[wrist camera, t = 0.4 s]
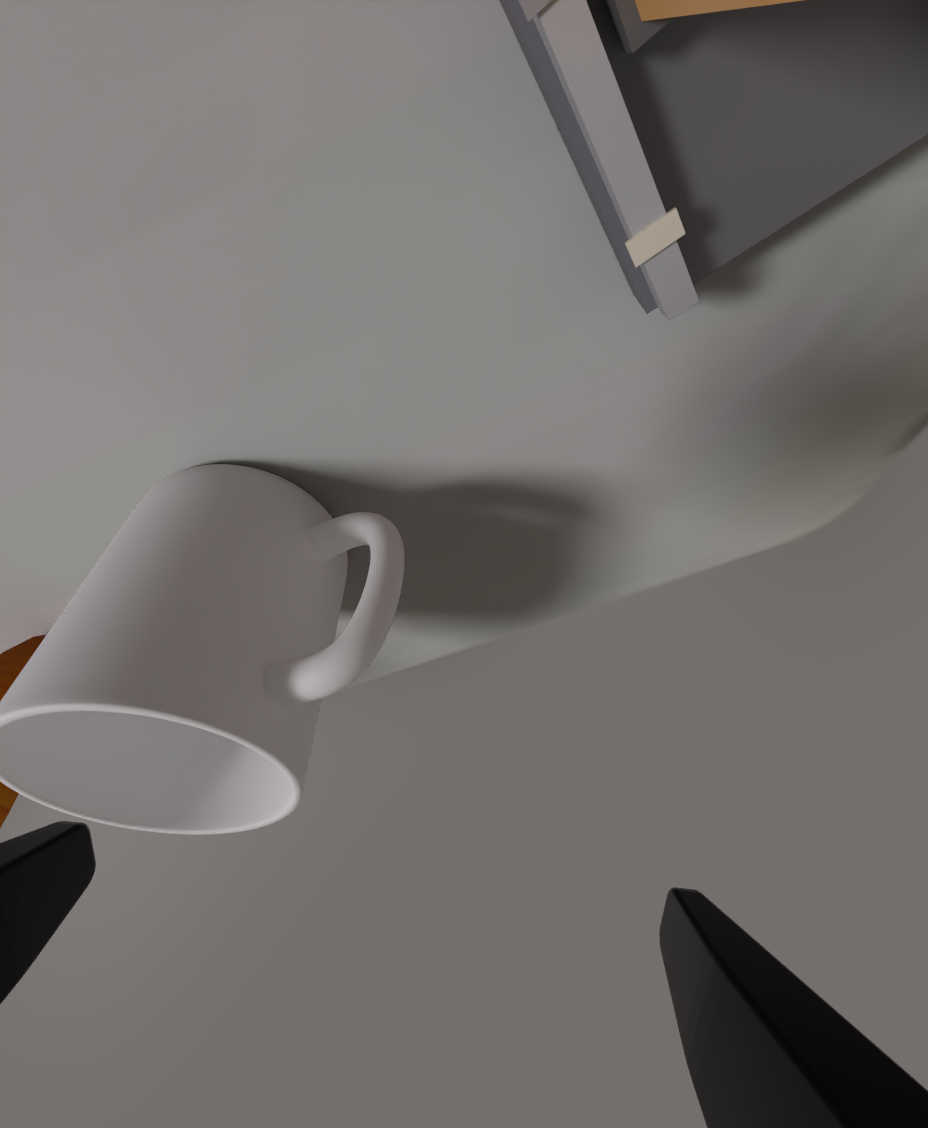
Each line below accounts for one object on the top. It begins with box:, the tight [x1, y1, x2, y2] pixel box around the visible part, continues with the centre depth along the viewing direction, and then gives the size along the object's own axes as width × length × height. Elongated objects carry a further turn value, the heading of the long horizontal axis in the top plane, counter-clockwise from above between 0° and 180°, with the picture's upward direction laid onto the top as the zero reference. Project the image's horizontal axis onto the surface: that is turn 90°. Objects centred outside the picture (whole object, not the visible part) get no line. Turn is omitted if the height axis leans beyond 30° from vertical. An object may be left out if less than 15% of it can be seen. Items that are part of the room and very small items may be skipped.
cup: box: [0, 464, 405, 834], centre depth 18 cm, size 8×12×10 cm
